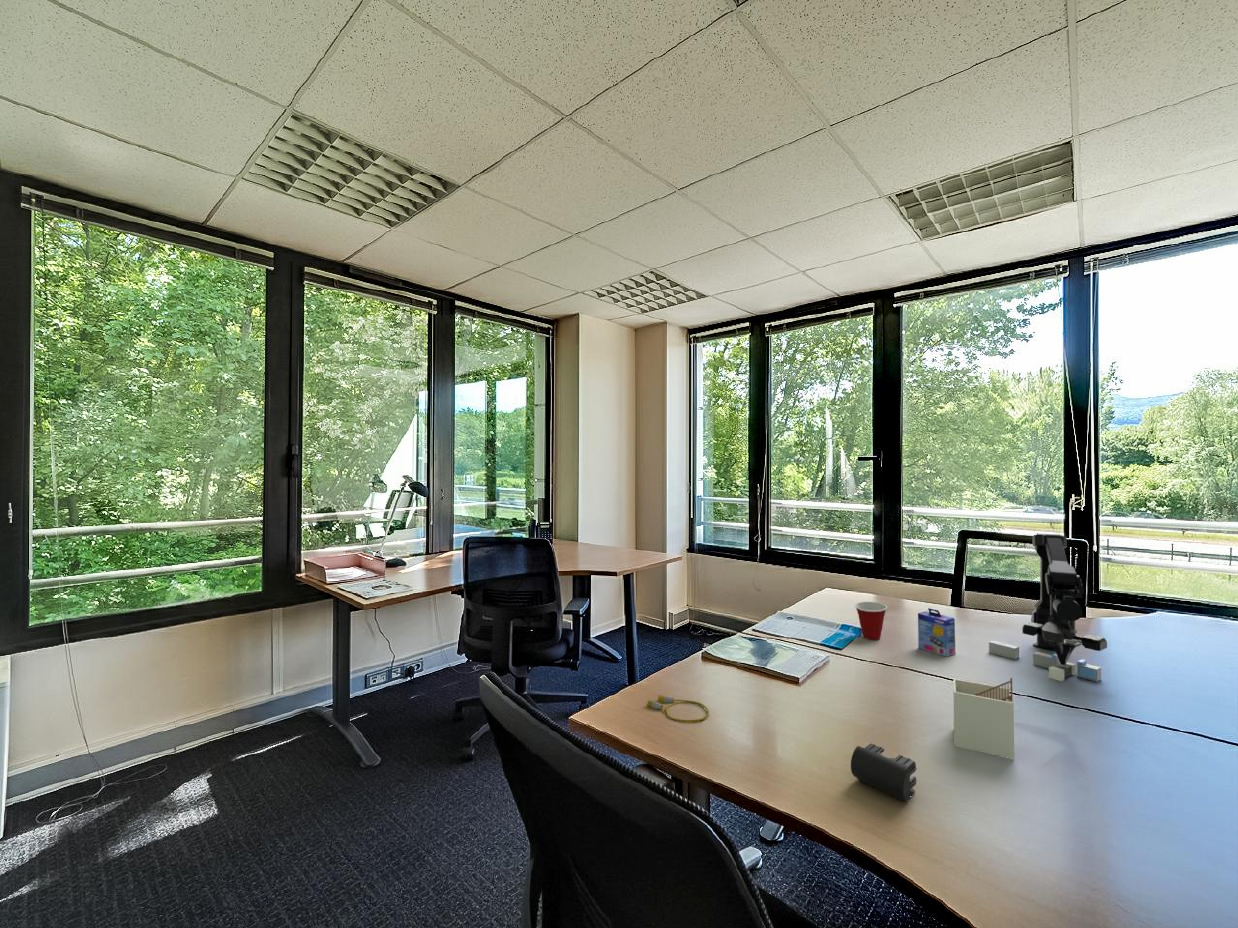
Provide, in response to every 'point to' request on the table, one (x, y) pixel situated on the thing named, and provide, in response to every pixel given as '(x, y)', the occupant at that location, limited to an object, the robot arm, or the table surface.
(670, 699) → the extension cord
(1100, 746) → the table surface
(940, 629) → the ink cartridge box
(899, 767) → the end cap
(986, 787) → the table surface
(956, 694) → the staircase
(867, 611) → the plastic cup
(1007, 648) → the grey block row
